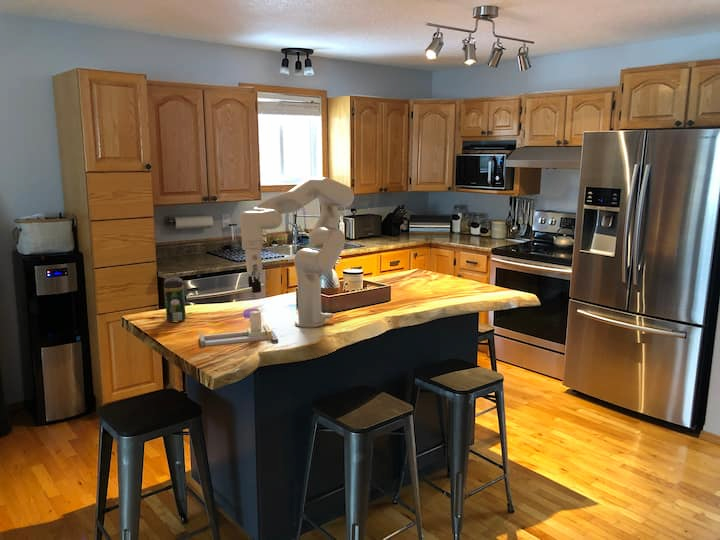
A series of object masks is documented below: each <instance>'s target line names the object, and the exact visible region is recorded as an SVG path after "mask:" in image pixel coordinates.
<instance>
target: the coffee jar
mask: <svg viewBox="0 0 720 540" xmlns="http://www.w3.org/2000/svg"><path fill="white" fill-rule="evenodd" d="M163 290H164V291H163V292H164V302H165V303H164V304H165V311H166V313H165V316H166V320H167V322H168V321H179V322H183V321H182V320H184V321H185V320H186V319H187V318H186V317H187V316H186V303H185V292H184V280H183V279H182V278H181V277H179V276H169V277H168V278H166V279H165V280H164V281H163Z"/></svg>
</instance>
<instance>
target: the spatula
mask: <svg viewBox="0 0 720 540" xmlns="http://www.w3.org/2000/svg"><path fill="white" fill-rule="evenodd" d="M252 311H260V310H259V309H258V308H248V309H245V310H243V317H244V319H250V312H252Z"/></svg>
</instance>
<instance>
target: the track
mask: <svg viewBox="0 0 720 540" xmlns="http://www.w3.org/2000/svg"><path fill="white" fill-rule="evenodd" d="M262 327H263V328H264V330H265V334H266V335H265V336H255V337H248V335H247V330H246V331H236V332H235V331H234V332H227V333H226V332H224V333H217V334H215V333H214V334H204V332H201V333H198V334H199V338H198V339H199V343H200V344H199V345H200V348H208V347H209V348H211V347H218V346H219V347H220V346H226V345H227V346H228V345H238V344H246V343H255V342H257V343H258V342H265V341H270V343H271V344H275V342H276V343H279V339H278V337H277V335H276V334H275V332H274V330H271V329H270V327H269V325H268V324H262Z"/></svg>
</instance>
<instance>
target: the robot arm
mask: <svg viewBox="0 0 720 540" xmlns="http://www.w3.org/2000/svg"><path fill="white" fill-rule="evenodd" d="M317 199H318V202H319V206H320V214H319V217H318V219H317V221H316V223H315V225H314V227H313V229H312V231H311V233H310V235H309V237H308V243H309V246H311V248H306V247H305V248H301V249H299V250H298V251H296V253H295V254H294V256H293V257H294V258H293V262H294V267H295V272H296V280H297V281H296V283H297V311H298V313H297V314H298V317H297V318H298V319H296V320H294V325H295V326H297V327H299V328H305V329H307V328H308V329H311V328H319V327H323V326H324V325H325V324H326V319H333V318H334V315H333V313H328V312H325V313H324V312H322V292H321V291H322V289H321V288H322V287H321V286H322V285H321V278H320V275H327V274H330V272H331V271H332V270H333V269H334V267H335V265H336V264H337V262H338V260H339V258H340V256H341V254H342V252H343V249H344V247H345V244H346V237H345V234H344V232H343V231H342V230H341V229H340V228H338V226H339V224H340V220H341V219H340V218H341V217H340V214H339V210H338V207H340V208H345V207H349V206H351V205H352V203H353V202H354V199H355V192H354V191H353V189H352V187H350V186H349V185H347V184H343V183H342V182H338V181H336V180H334V179H333V178H332V179H331V178H329V177H322V176H321V177H319V176H316V177H315V176H310V177H307V178H306V179H304V180H303V181H301V182H300V183H298V184H297V185H295V186H294V187H292V188H291V189H289V190H287V191H285V192H283V193H281V194H278V195H276V196H272V197H270V198H268V199H265V200H264V201H261V202H260V203H259V204H257V205H255V206H254V207H253V208H252V209H251V210H247V211H245V210H244V211H241V212H240V215H239V219H240V220H239V221H240V234H241V249H242V250H244V251H245V252H244V253H245V265H246V266H245V267H246V271H247V274H248V275H247V276H248V277H247V280H248V287H249V288H251V290H252V291H251V292H252V293H253V294H257V293H261V292H262V283H261V277H260V276H263V275H264V270H263V260H262V252H261V250H262V249H263V231H262V230H275V229H278V228H279V227H280V226H281V225H282V223H283V214H291V213H295V212H298V211H300V210H301V209H303V208H304V207H306V206H307V205H308V204H310V203H311V202H313V201H315V200H317ZM318 326H319V327H318Z"/></svg>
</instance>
